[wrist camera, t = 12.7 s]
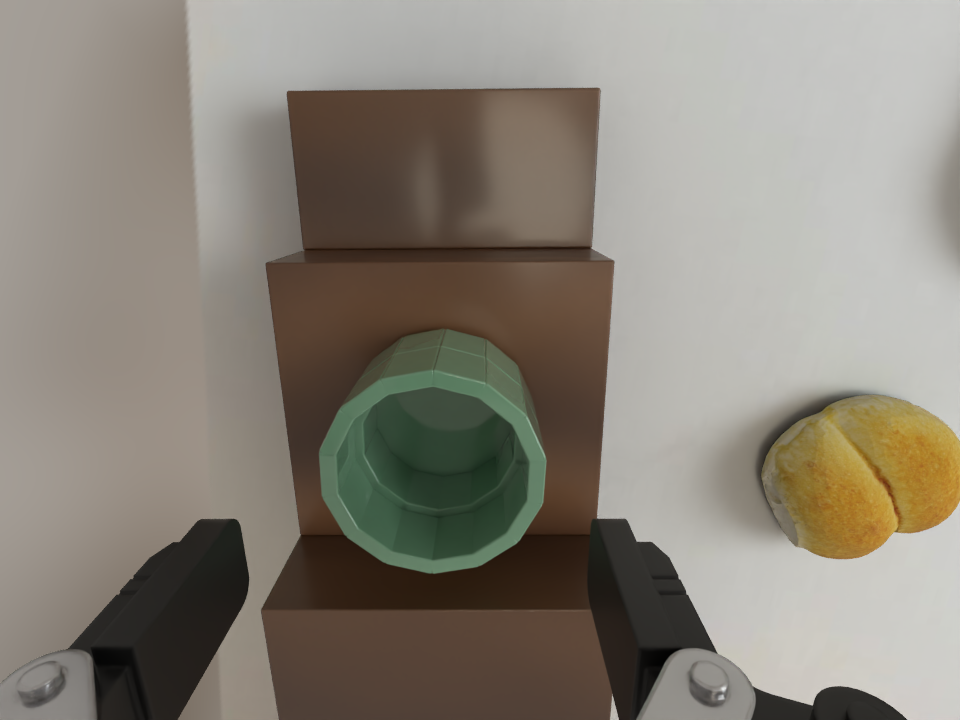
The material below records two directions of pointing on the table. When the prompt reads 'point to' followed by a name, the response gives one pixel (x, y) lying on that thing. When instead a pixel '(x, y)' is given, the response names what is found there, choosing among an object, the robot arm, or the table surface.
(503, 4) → the table surface
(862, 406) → the bread roll
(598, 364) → the wooden stair steps
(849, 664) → the table surface
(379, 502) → the cup
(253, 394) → the table surface
